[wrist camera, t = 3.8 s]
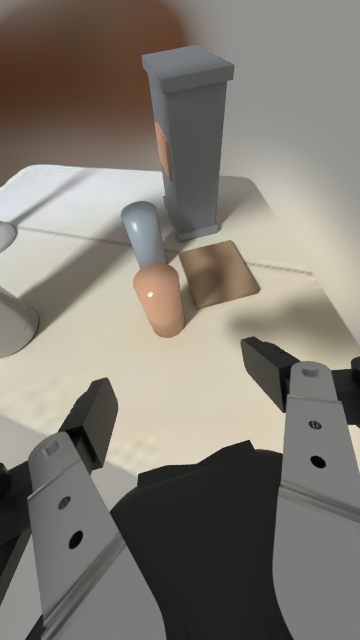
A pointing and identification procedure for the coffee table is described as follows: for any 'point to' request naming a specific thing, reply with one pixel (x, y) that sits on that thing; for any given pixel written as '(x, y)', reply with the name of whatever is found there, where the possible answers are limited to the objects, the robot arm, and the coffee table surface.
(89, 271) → the coffee table surface
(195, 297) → the pad
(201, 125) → the post
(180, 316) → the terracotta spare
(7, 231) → the candlestick
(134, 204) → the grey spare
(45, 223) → the coffee table surface
